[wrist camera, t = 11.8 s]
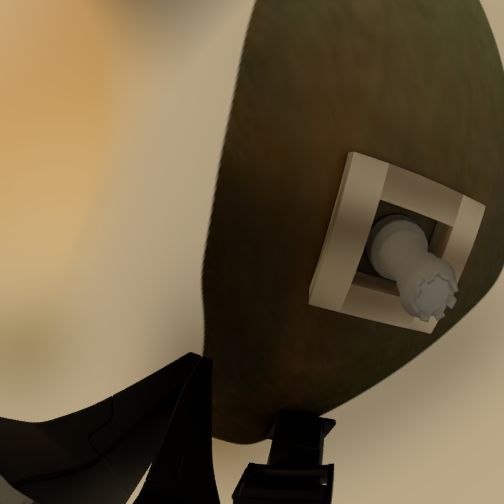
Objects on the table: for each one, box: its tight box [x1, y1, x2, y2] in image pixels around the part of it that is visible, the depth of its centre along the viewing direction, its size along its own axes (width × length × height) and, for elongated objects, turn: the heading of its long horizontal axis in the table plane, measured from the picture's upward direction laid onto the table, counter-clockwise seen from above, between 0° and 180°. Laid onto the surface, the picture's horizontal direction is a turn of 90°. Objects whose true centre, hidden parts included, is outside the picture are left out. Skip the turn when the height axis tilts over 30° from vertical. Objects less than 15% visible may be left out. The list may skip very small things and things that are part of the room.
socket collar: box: [309, 152, 485, 333], centre depth 16 cm, size 10×10×2 cm
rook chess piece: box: [366, 214, 458, 322], centre depth 14 cm, size 4×4×8 cm
